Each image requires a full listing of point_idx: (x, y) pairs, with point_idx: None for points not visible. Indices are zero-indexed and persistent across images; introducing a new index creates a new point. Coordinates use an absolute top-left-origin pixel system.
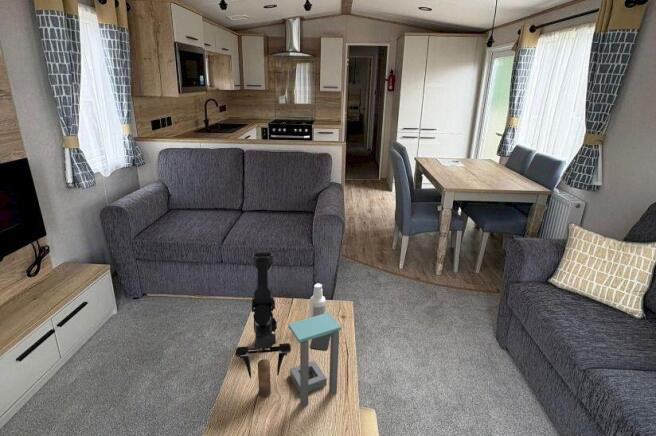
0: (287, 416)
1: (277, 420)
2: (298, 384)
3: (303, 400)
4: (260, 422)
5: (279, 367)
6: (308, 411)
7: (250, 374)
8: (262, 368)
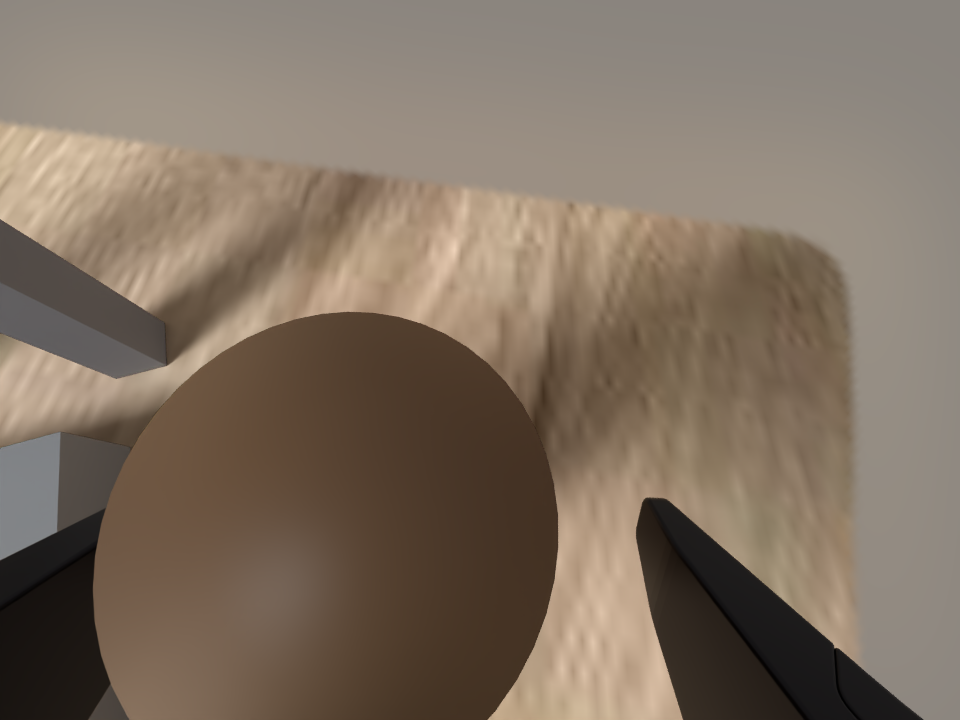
0: (302, 261)
1: (378, 242)
2: (69, 498)
3: (111, 295)
4: (497, 245)
5: (34, 553)
6: (141, 276)
7: (670, 528)
8: (402, 332)
